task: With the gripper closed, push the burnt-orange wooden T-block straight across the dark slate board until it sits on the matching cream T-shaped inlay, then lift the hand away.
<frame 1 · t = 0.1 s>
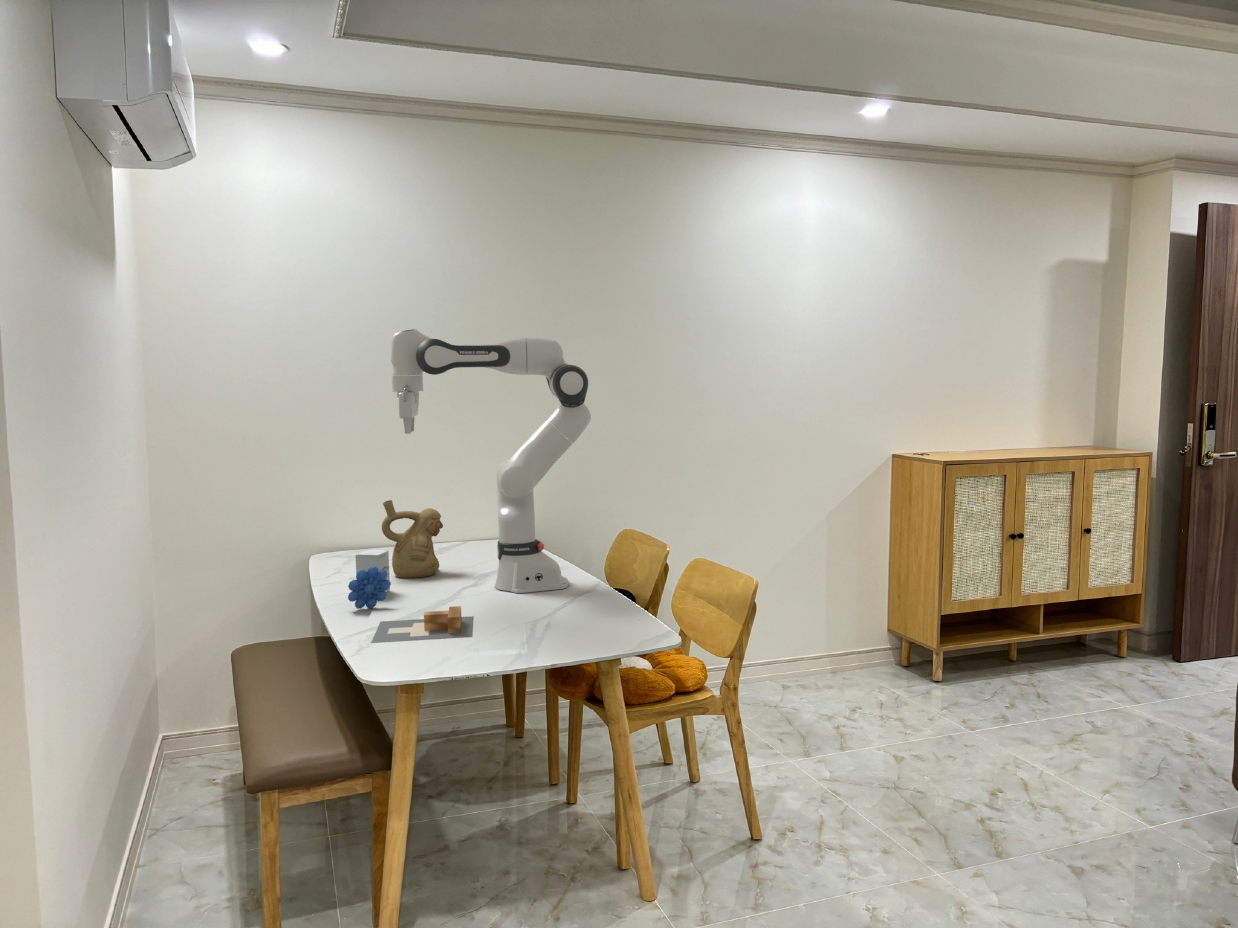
hand: (409, 432, 252), 48 cm above the table, fingers open, 8 cm apart
push board: (425, 632, 216), on the table
supplement box: (373, 594, 256), on the table
t block: (443, 627, 217), point 1 cm above the table, touching push board
blue lumpy cluster: (370, 608, 240), on the table
ceramic vessel: (414, 574, 280), on the table
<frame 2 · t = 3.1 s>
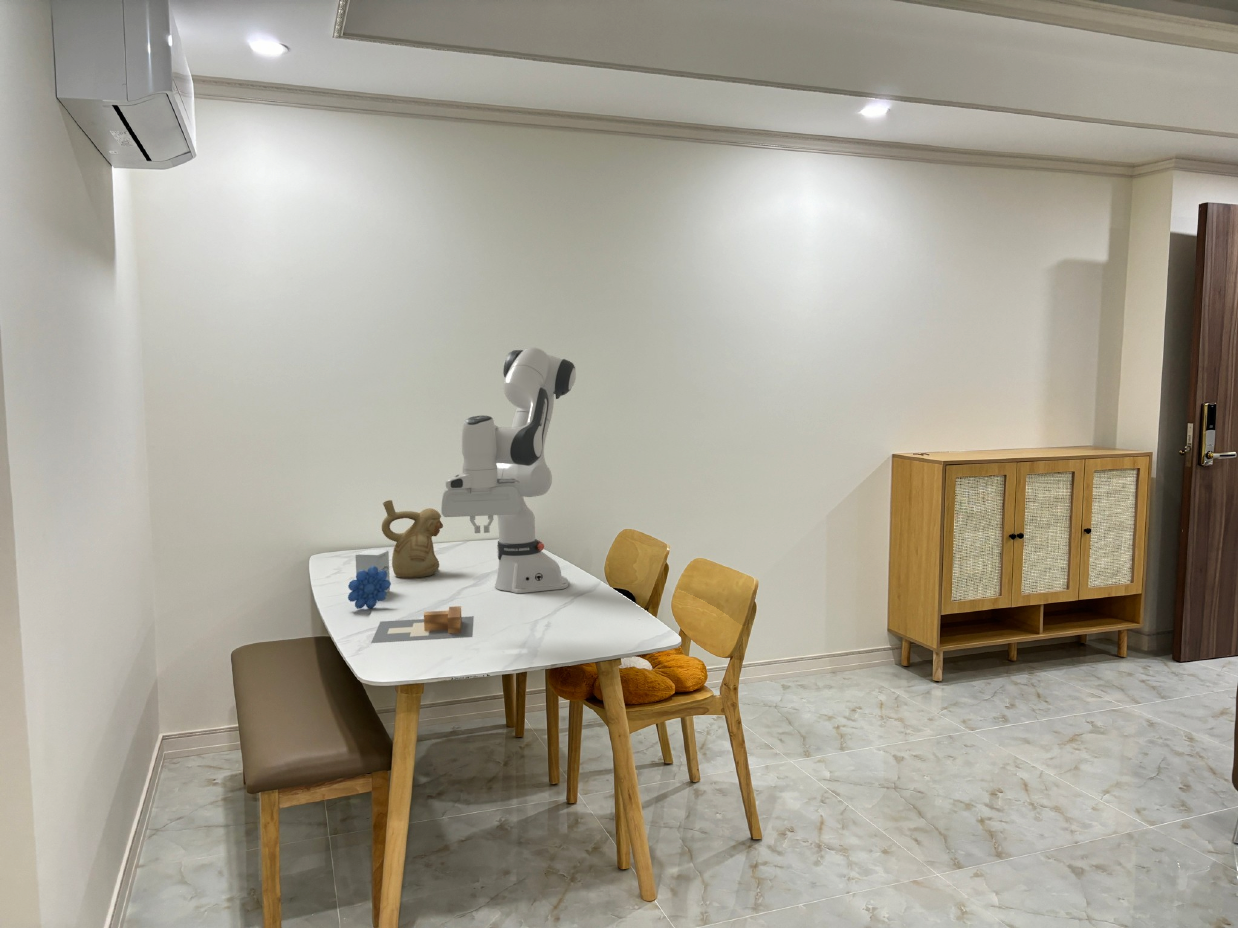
hand: (482, 532, 221), 24 cm above the table, fingers closed
nothing on the table moved.
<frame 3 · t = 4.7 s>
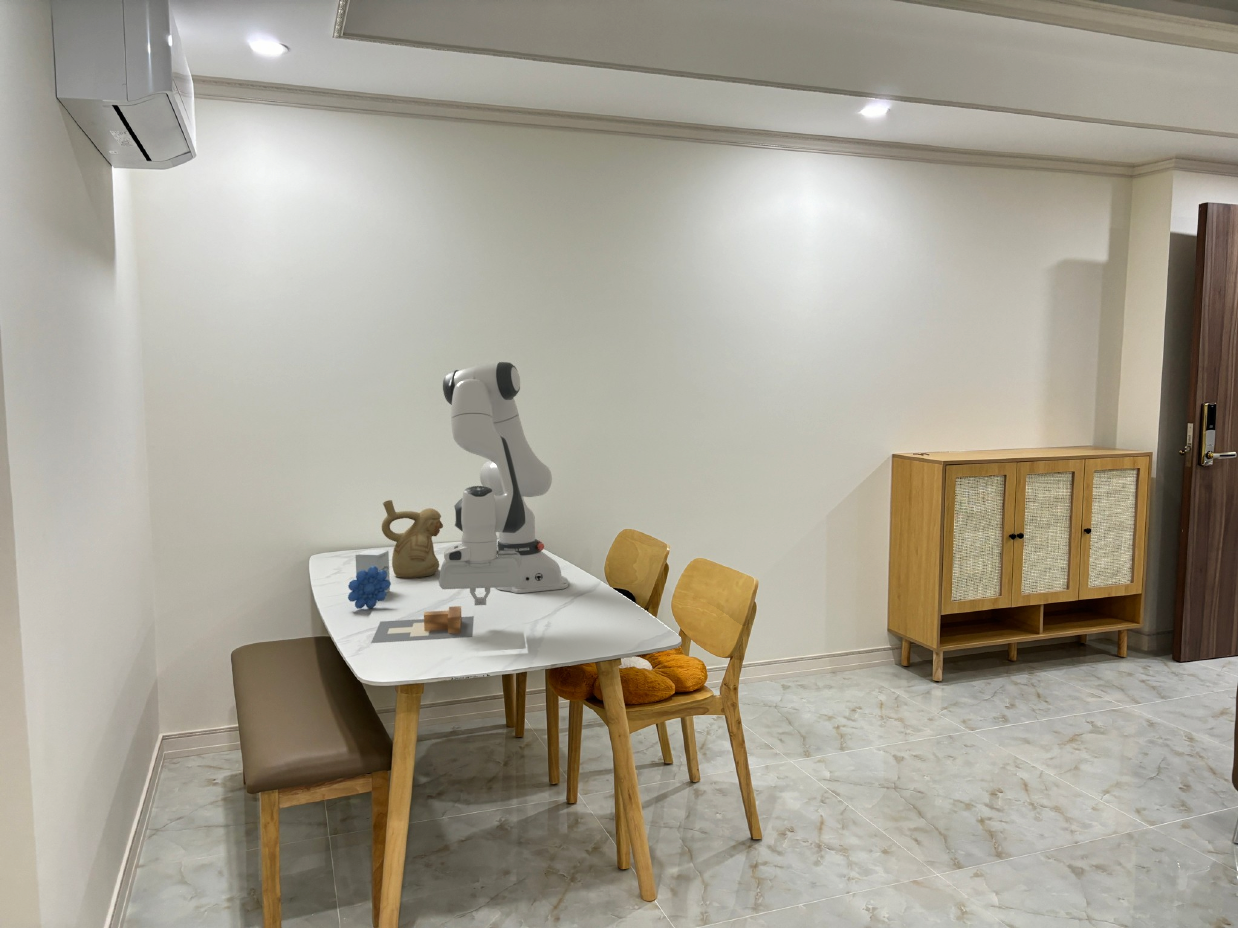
hand: (480, 604, 217), 7 cm above the table, fingers closed
nothing on the table moved.
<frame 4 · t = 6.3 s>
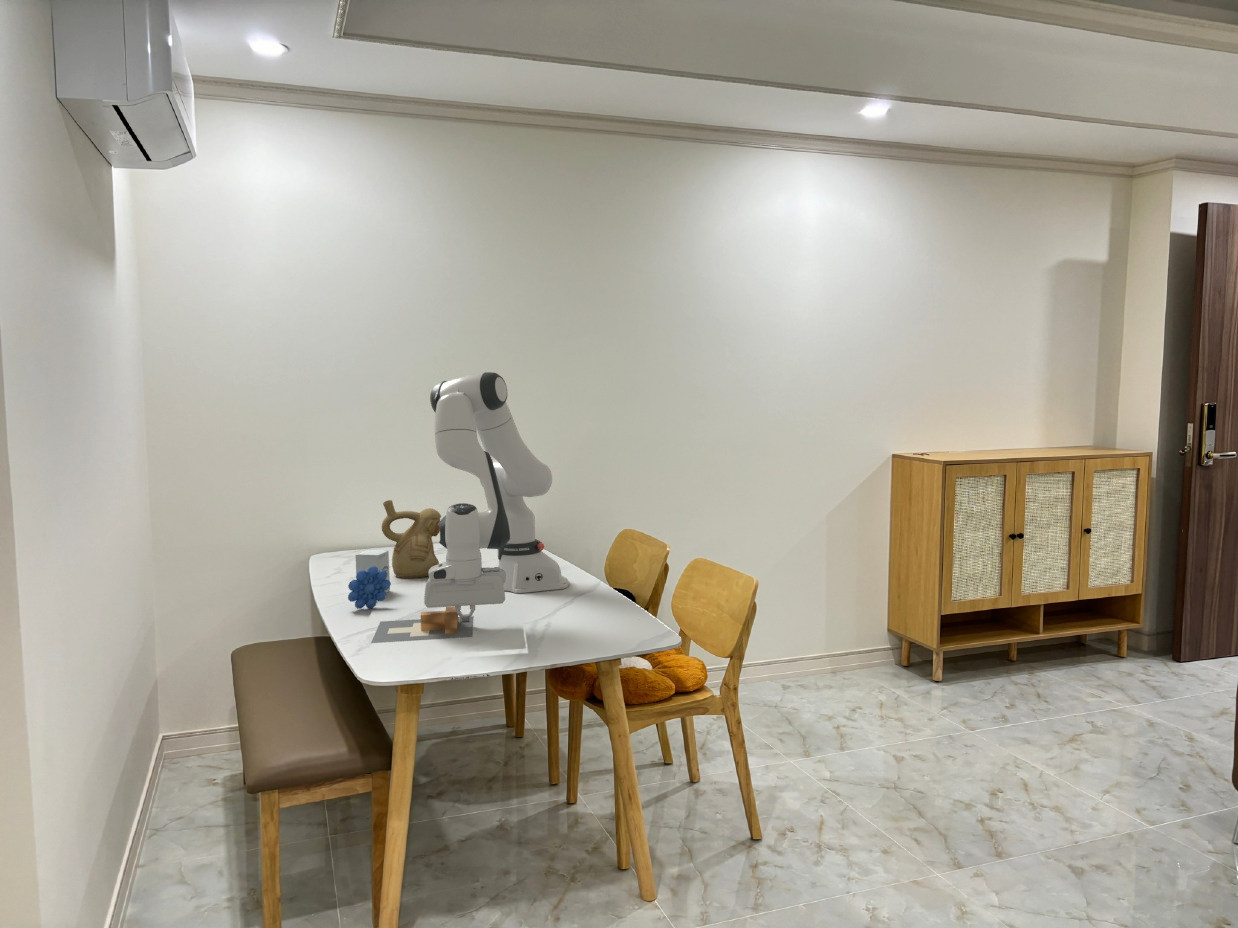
hand: (465, 622, 217), 2 cm above the table, fingers closed
t block: (439, 627, 216), point 1 cm above the table, touching gripper, push board
everything else where it was.
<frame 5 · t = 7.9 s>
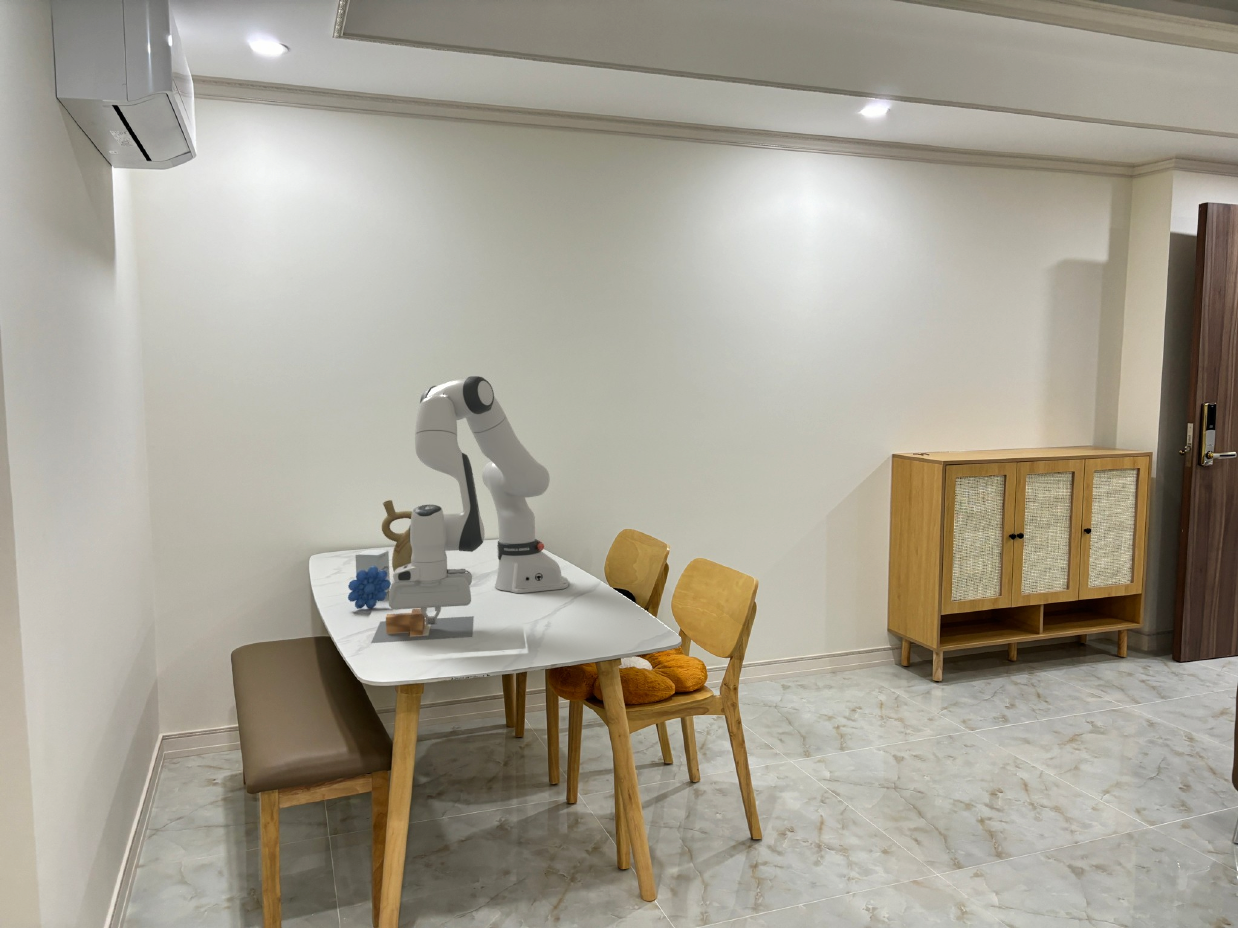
hand: (431, 624, 216), 2 cm above the table, fingers closed
t block: (405, 630, 215), point 1 cm above the table, touching gripper, push board
everything else where it was.
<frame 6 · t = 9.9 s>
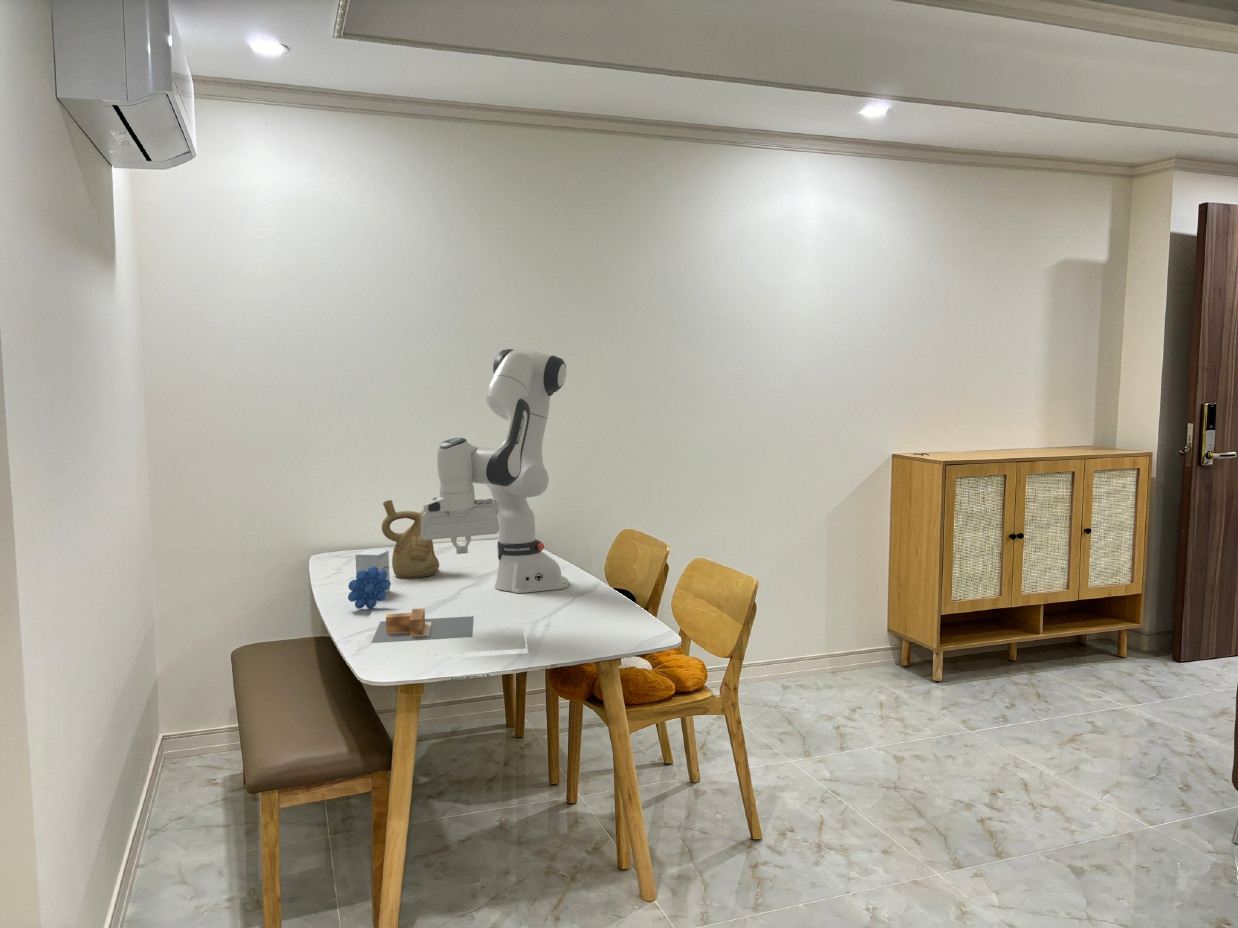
hand: (462, 553, 224), 18 cm above the table, fingers closed
t block: (405, 630, 215), point 1 cm above the table, touching push board
everything else where it was.
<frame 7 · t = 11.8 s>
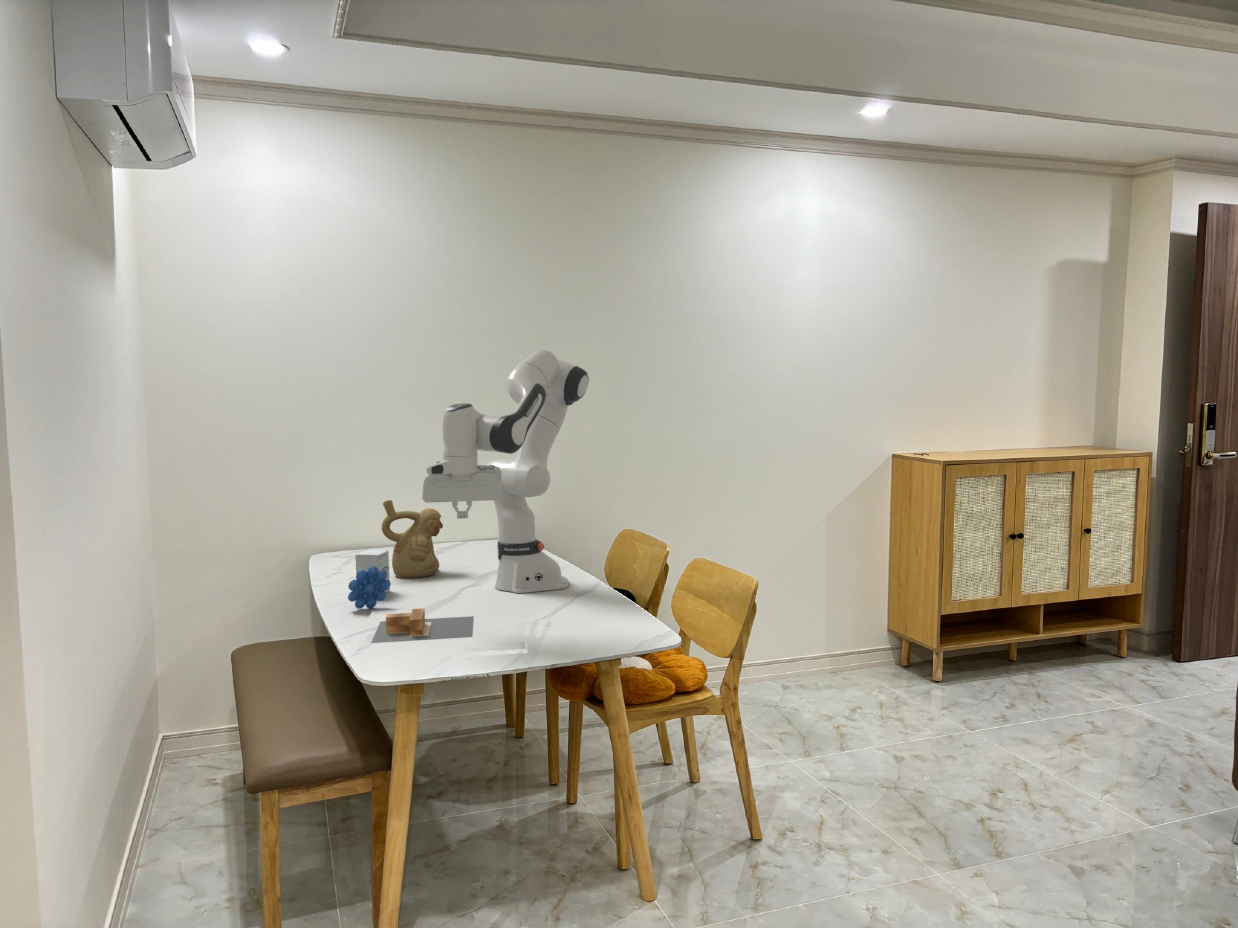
hand: (462, 518, 225), 27 cm above the table, fingers closed
nothing on the table moved.
at the end: t block 0.7 cm from the target spot on the push board, point 1.0 cm above the push board's base; t block tilted 0°; the gripper is holding nothing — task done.
